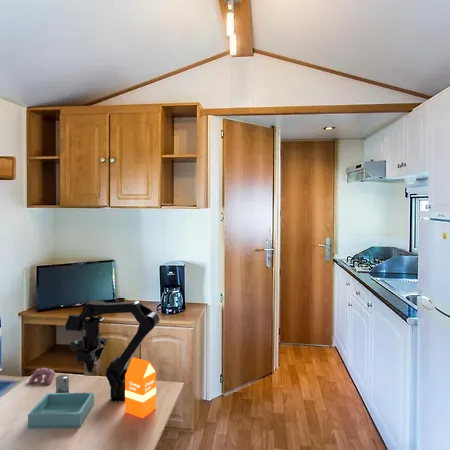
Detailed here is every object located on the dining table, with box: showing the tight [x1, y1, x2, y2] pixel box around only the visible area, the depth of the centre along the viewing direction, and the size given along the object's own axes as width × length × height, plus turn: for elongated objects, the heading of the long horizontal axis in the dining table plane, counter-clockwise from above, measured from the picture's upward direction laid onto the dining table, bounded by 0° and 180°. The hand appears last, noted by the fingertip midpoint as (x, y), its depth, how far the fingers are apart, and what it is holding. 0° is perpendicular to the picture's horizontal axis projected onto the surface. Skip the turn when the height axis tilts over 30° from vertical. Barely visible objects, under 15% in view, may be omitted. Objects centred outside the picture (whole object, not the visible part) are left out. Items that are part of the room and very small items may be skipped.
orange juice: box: [124, 356, 157, 419], centre depth 139 cm, size 8×9×20 cm
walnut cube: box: [83, 358, 102, 377], centre depth 150 cm, size 5×5×5 cm
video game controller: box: [28, 367, 56, 386], centre depth 162 cm, size 10×5×7 cm, turn 84°
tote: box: [27, 392, 95, 429], centre depth 135 cm, size 18×15×5 cm
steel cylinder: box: [55, 374, 70, 393], centre depth 152 cm, size 5×5×7 cm
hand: (92, 369), depth 150 cm, fingers closed on walnut cube, 5 cm apart
